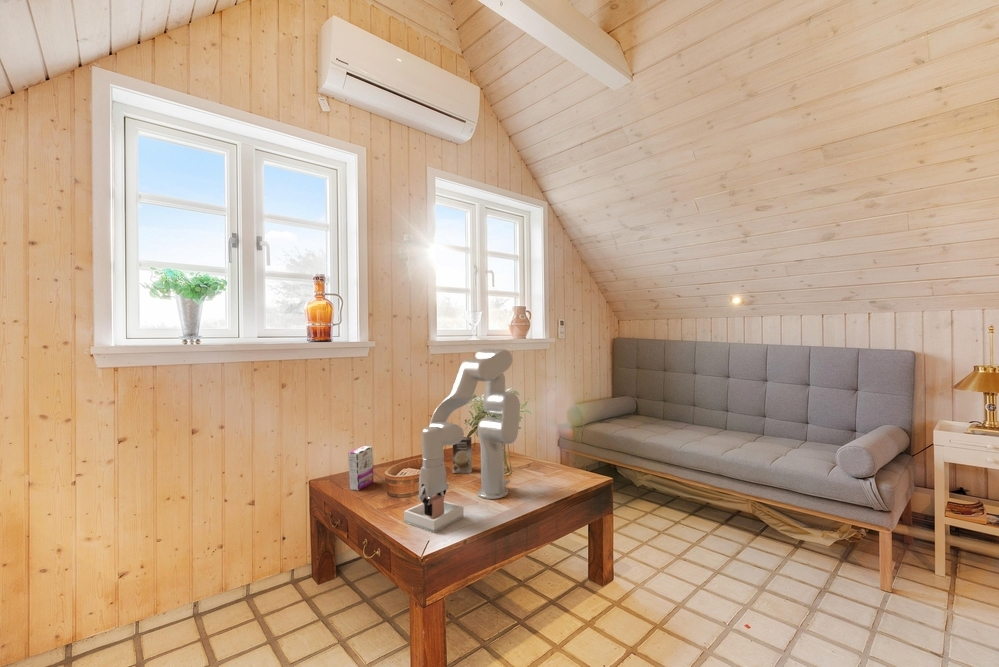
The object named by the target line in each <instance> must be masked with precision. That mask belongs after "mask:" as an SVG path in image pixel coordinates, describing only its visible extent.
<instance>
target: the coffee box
mask: <svg viewBox="0 0 999 667" xmlns="http://www.w3.org/2000/svg"><path fill="white" fill-rule="evenodd" d="M472 451H473V450H472V436H466V437H464V436H463V439H462V440H461V441H460V442H459V443H458V444H455V445H452V474H453V473H459V474H472V473H471V472H473V471H472V470H473V468H472V464H473V463H472V462H473V461H472V459H473V458H472V456H473V454H472V453H473V452H472Z"/></svg>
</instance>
